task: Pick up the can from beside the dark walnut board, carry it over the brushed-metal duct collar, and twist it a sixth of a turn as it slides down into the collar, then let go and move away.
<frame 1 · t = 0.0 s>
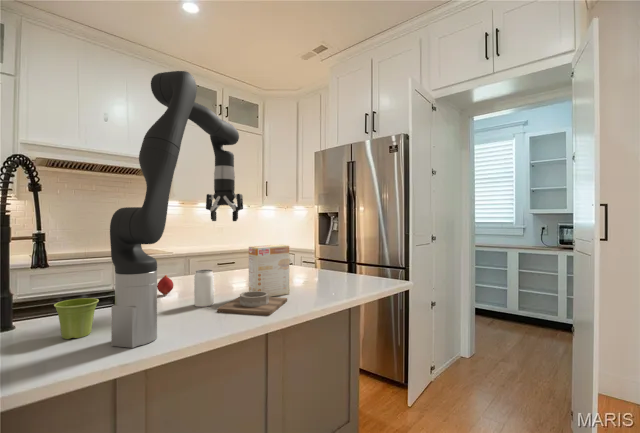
hand: (224, 221, 127), 29 cm above the countertop, tool pointing down, fingers open, 8 cm apart
coffeecake box: (269, 295, 132), on the countertop
onion: (165, 295, 131), on the countertop
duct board: (254, 306, 115), on the countertop
plant pot: (77, 336, 87), on the countertop
can: (204, 305, 117), on the countertop
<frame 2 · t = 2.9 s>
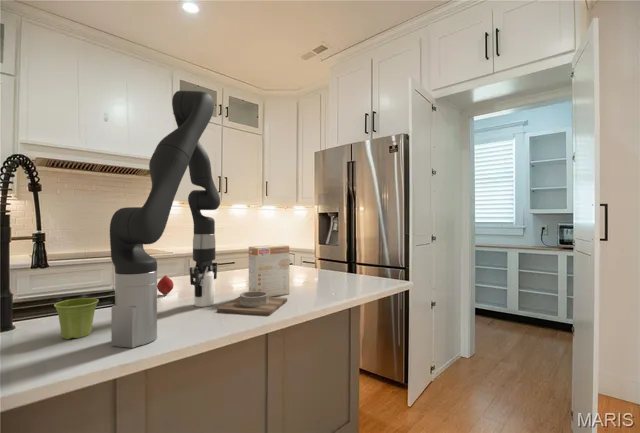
hand: (204, 294, 116), 4 cm above the countertop, tool pointing down, fingers closed on can, 6 cm apart
can: (204, 305, 117), on the countertop, touching gripper
everything else where it was.
when the fingers open (6 cm above the countertop, at t = 9.0 s): can drops 1 cm, resting on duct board.
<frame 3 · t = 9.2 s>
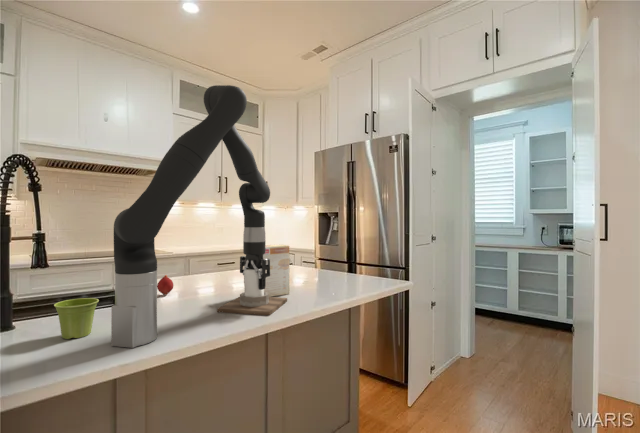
hand: (254, 287, 115), 6 cm above the countertop, tool pointing down, fingers open, 8 cm apart
can: (254, 303, 115), point 1 cm above the countertop, touching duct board
everything else where it was.
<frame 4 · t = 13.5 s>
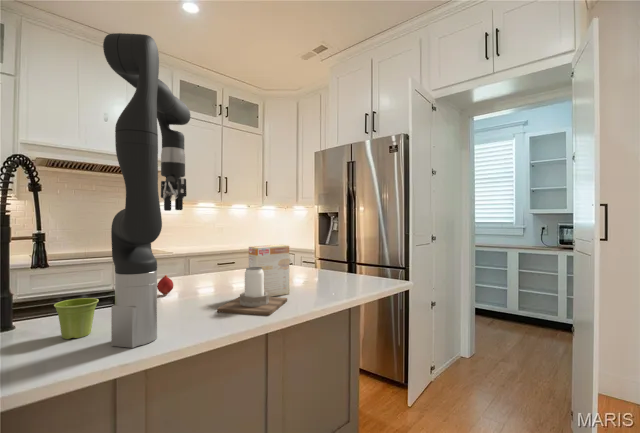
hand: (173, 210, 112), 33 cm above the countertop, tool pointing down, fingers open, 8 cm apart
nothing on the countertop moved.
at the end: can 0.1 cm off-centre on the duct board, point 1.0 cm above the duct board's base; can tilted 0°; the gripper is holding nothing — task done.
